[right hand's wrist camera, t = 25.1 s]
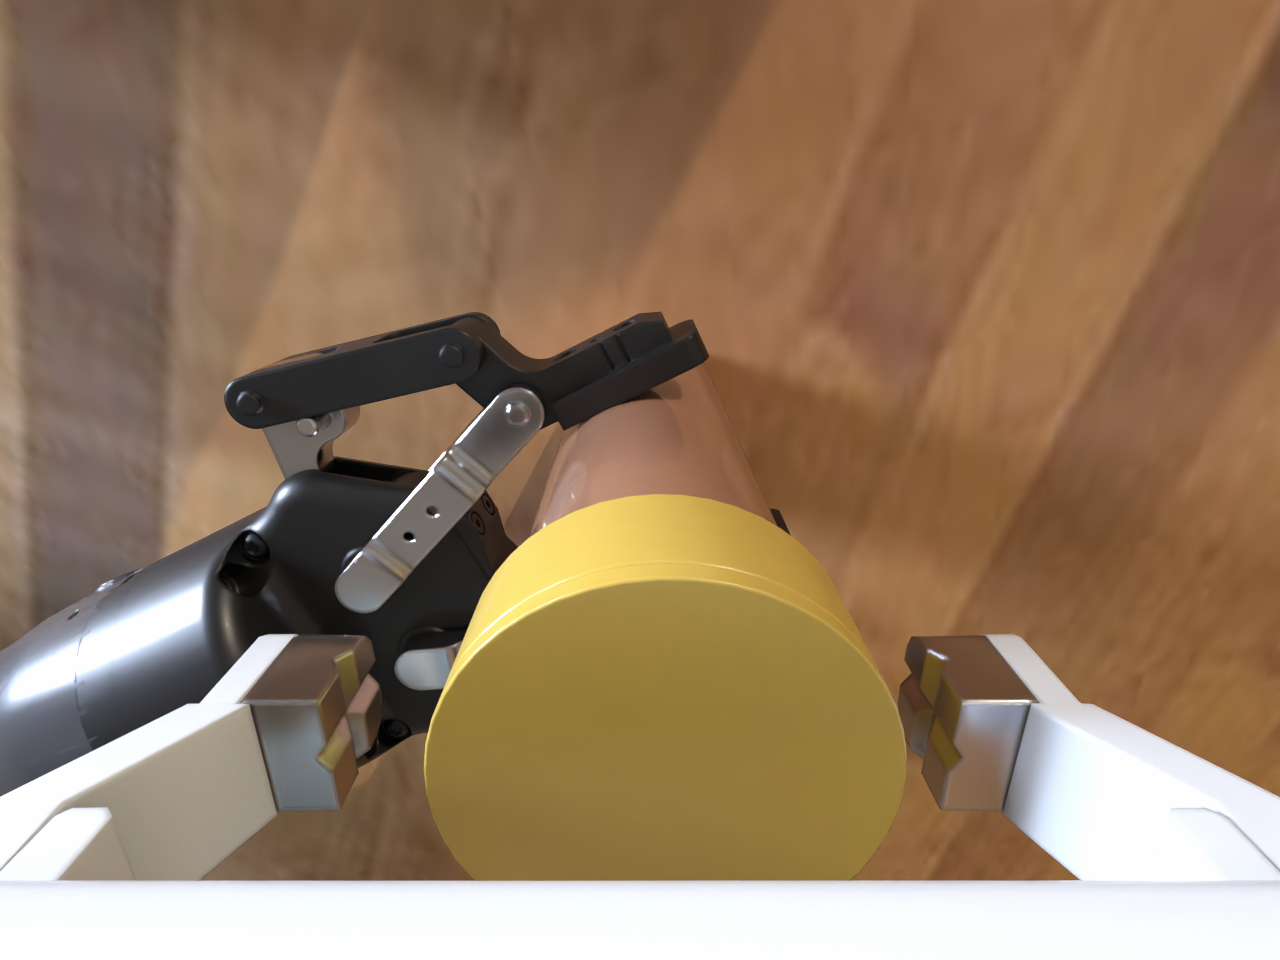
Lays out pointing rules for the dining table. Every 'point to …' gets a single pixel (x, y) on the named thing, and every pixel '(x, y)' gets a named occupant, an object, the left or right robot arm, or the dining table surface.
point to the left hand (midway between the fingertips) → (743, 440)
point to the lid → (663, 708)
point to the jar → (653, 453)
